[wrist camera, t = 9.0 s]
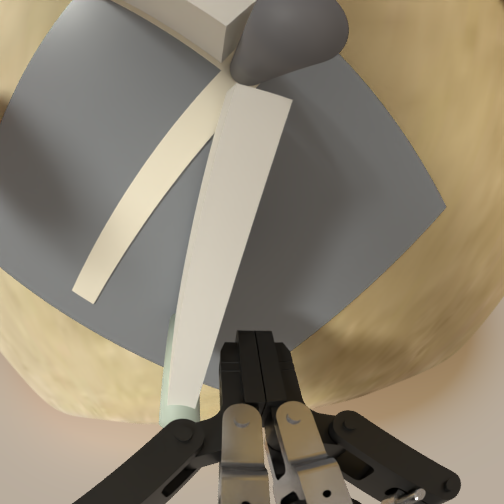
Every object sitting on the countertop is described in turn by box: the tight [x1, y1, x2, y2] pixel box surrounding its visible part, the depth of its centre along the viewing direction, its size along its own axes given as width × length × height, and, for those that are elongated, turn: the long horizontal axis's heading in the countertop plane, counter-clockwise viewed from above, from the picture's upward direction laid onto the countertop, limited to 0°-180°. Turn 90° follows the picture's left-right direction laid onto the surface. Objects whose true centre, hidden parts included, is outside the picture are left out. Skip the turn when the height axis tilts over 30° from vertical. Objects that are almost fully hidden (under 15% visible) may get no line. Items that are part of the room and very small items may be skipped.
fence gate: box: [159, 83, 293, 428], centre depth 10 cm, size 13×2×7 cm, turn 164°
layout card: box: [0, 0, 446, 390], centre depth 13 cm, size 23×21×1 cm
